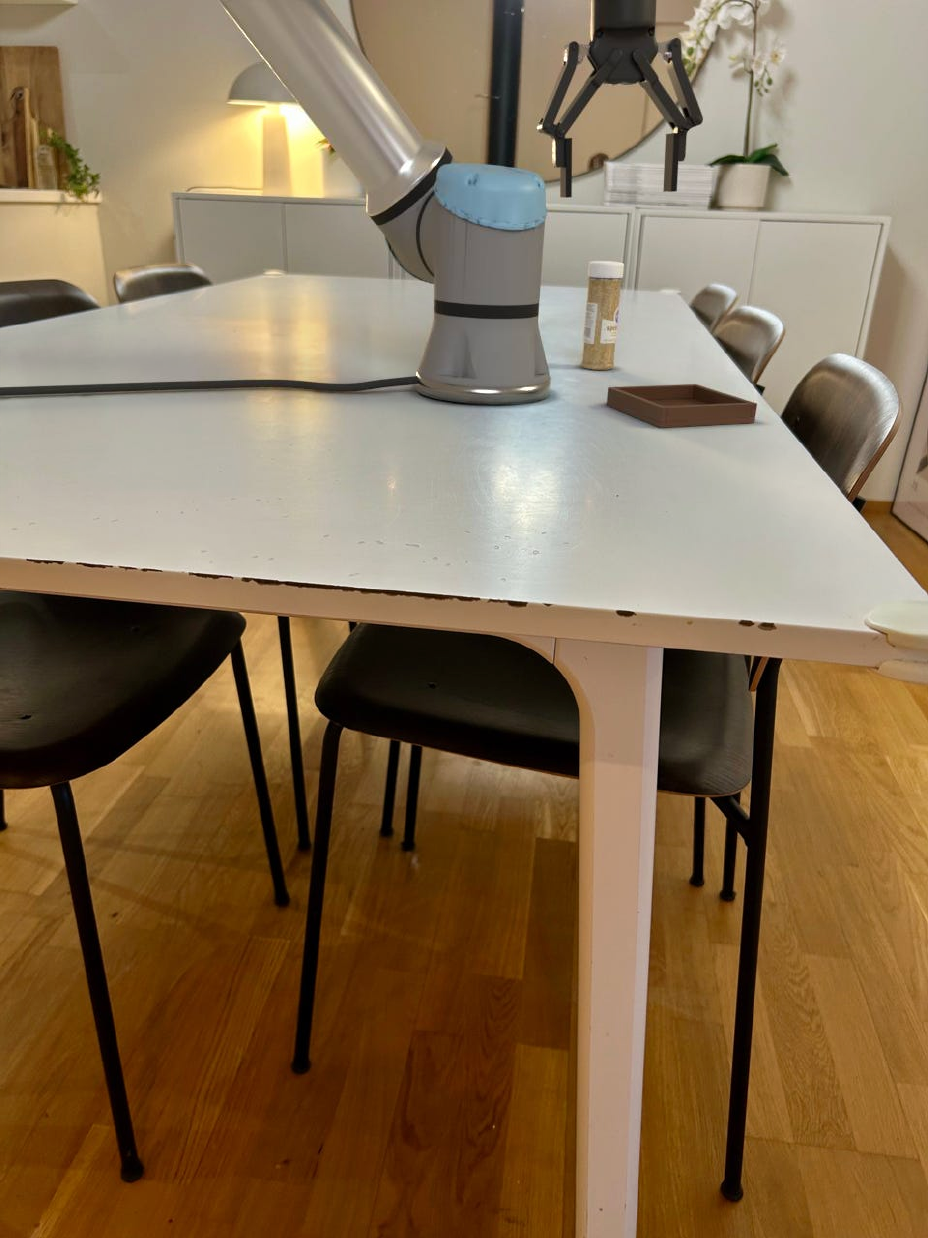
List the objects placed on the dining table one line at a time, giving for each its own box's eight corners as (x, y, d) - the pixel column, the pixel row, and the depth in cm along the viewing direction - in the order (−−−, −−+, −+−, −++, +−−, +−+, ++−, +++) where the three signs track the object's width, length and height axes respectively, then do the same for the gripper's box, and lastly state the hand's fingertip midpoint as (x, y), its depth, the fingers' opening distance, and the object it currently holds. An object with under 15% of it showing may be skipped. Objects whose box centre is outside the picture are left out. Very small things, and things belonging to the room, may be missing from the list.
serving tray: (659, 427, 89) (662, 407, 89) (606, 405, 99) (608, 386, 98) (754, 422, 93) (757, 403, 92) (693, 401, 103) (696, 383, 102)
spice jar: (614, 371, 120) (625, 263, 115) (580, 369, 120) (589, 261, 115) (612, 365, 124) (623, 261, 119) (579, 364, 125) (588, 259, 119)
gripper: (713, -6, 109) (700, 188, 119) (511, 0, 106) (515, 199, 115) (740, -18, 102) (724, 189, 112) (525, -12, 99) (528, 200, 109)
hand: (618, 194), depth 114 cm, fingers open, 13 cm apart
